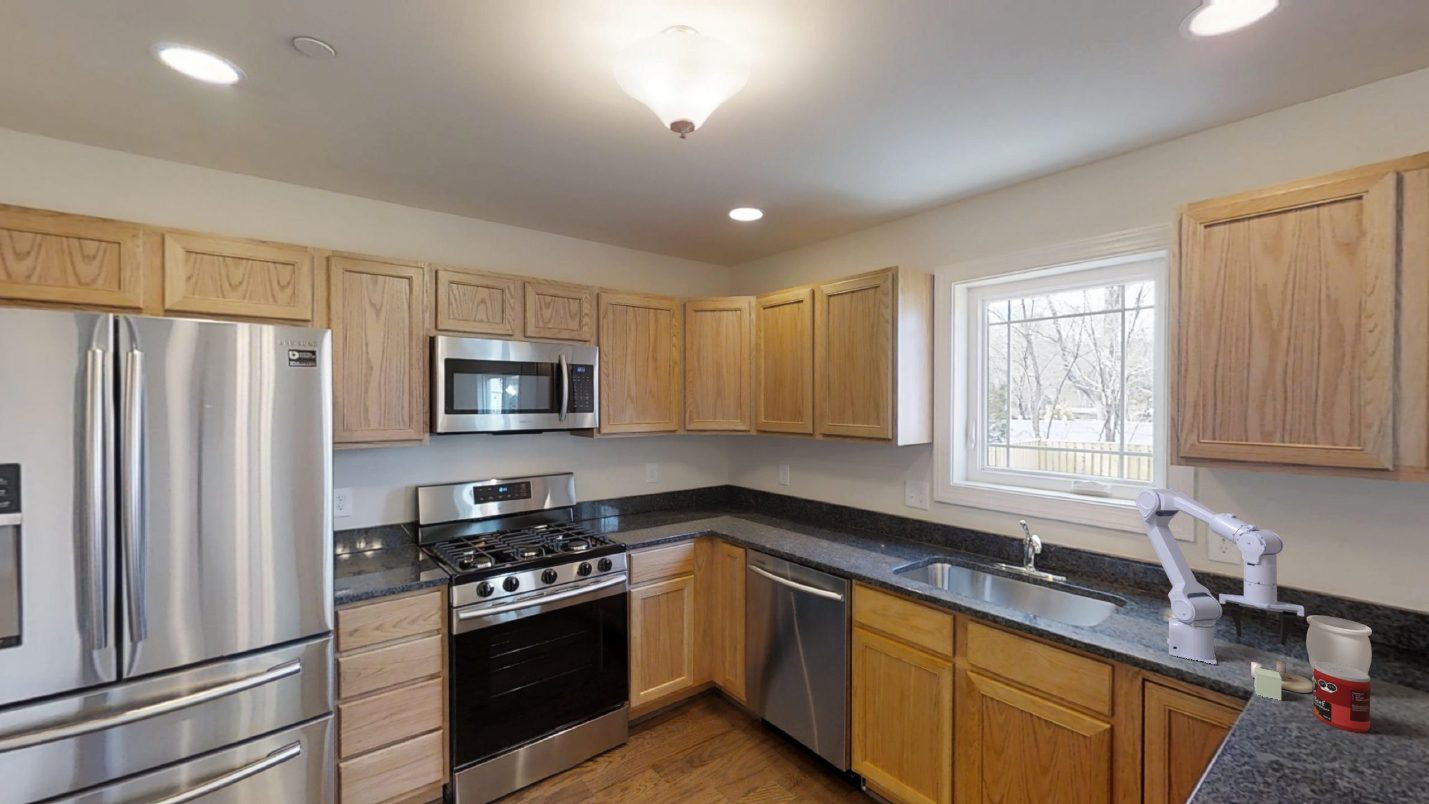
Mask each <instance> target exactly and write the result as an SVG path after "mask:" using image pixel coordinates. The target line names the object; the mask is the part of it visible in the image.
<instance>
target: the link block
mask: <svg viewBox="0 0 1429 804" xmlns="http://www.w3.org/2000/svg"><path fill="white" fill-rule="evenodd" d="M1270 670H1271V669H1265V668H1262V667H1261V668H1256V667H1255V679H1254V681H1253V683H1254V684H1253V685H1254V687H1255V689H1254V692H1255V691H1256V692H1255V694H1257V695H1256V696H1258V695H1261V696H1260V697H1262V696H1263V698H1266V697H1268V698H1267V699H1270V698H1273V699H1272V700H1275V699H1278V700H1277V701H1279V700H1281V701H1282V688H1281V677H1280V674H1279V672H1275V671H1270ZM1254 687H1253V688H1254Z"/></svg>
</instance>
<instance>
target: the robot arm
mask: <svg viewBox="0 0 1429 804" xmlns="http://www.w3.org/2000/svg"><path fill="white" fill-rule="evenodd" d="M1134 503H1135V505H1136V507H1137V509H1138V511H1139V514H1140V521H1141V525H1142V527H1143V530H1144V531H1145V533H1146V536H1147V537H1148V539H1149V541H1150V544H1151V546H1152V547H1153V549H1154V551H1155V554H1156V555H1157V557H1158V559H1159V561H1160V564H1161V565H1162V568H1163V570H1164V572H1165V574H1166V576H1167V578H1168V579H1169V582H1170V584H1171V586H1172V588H1171V589H1170V591H1169V592H1168V593H1167V594H1168V595H1167V597H1168V598H1169V600H1170V608H1171V612H1172V613H1173V616H1174V617H1169V618H1168V637H1167V638H1166V642H1167V644H1166V645H1167V646H1168V655H1170V656H1173V657H1177V656H1178V658H1182V659H1186V658H1187V660H1191V659H1192V660H1191V661H1196V660H1198V661H1197V662H1200V661H1204V662H1203V663H1205V662H1206V664H1209V663H1211V664H1210V665H1214V664H1217V665H1218V663H1217V662H1218V661H1217V657H1216V654H1215V625H1216V624H1217V620H1219V619H1220V618H1221V617H1222V614H1223V609H1222V605H1225V606H1226V609H1227V611H1228V613H1229V615H1230V616H1231V618H1232V621H1233V623H1234V626H1235V631H1236V635H1237V637H1238V638H1243V636H1242V634H1243V633H1242V626H1241V620H1242V617H1241V616H1242V611H1241V607H1245V608H1253V609H1259V610H1265V611H1271V612H1272V611H1273V612H1279V625H1280V626H1279V627H1280V629H1279V643H1280V645H1282V646H1286V642H1287V639H1288V636H1289V633H1290V631H1291V630H1292V628H1293V627H1294V625H1295V624H1296V623H1297V622H1298V620H1299V619H1298V618H1299V616H1300V617H1305V607H1304V606H1303V605H1299V604H1294V603H1289V602H1284V601H1279V600H1278V594H1277V593H1278V592H1277V591H1278V590H1277V589H1278V587H1277V586H1278V585H1277V584H1278V582H1277V580H1278V579H1277V578H1278V577H1277V575H1278V574H1277V573H1278V572H1277V570H1278V569H1277V567H1278V565H1277V563H1278V562H1277V559H1278V558H1277V557H1278V556H1277V555H1278V554H1281V552H1282V551H1283V550H1284V549H1283V548H1284V543H1283V540H1282V538H1281V537H1280V536H1279V534H1277V533H1275V532H1274V531H1273V530H1271V529H1259V528H1258V526H1257V525H1255V524H1250V523H1247V522H1246V521H1244V520H1241V519H1240V518H1237V517H1238V515H1237V514H1235V513H1233V512H1232V513H1231V512H1230V513H1227V512H1222V513H1217V512H1215V511H1214V510H1212V509H1210V508H1209V507H1207V506H1205V505H1203V504H1201V503H1200V502H1198V501H1196V500H1195V499H1192V497H1189V496H1188V495H1187V493H1185V492H1183V491H1180V490H1179V489H1176V488H1173V487H1172V488H1171V487H1170V488H1157V489H1156V488H1153V489H1151V488H1144V489H1141V490H1140V491H1139V492H1138V494H1137V496H1136V499H1135V501H1134ZM1180 512H1181V513H1183V514H1186V515H1187V516H1190V517H1192V518H1194V519H1196V520H1197V521H1201V522H1203V523H1205V524H1207V525H1209V529H1210V530H1211V532H1212V533H1214V534H1215V535H1218V536H1220V537H1222V538H1223V539H1225V540H1227V541H1228V542H1231V543H1232V544H1235V545H1236V546H1237V548H1238V549H1239V551H1240V553H1241V558H1242V560H1243V595H1236V594H1225V593H1219V594H1218V597H1219V598H1218V599H1219V600H1217V598H1216V597H1214V596H1213V595H1212V594H1211V592H1210V590H1209V588H1207V587H1206V586H1204V585H1202V584H1201V583H1199V582H1198V581H1197V579H1196V576H1195V575H1194V573H1193V572H1192V570H1191V568H1190V565H1189V564H1188V562H1187V560H1186V558H1185V556H1184V554H1183V553H1182V550H1181V548H1180V546H1179V544H1178V542H1177V540H1176V539H1175V536H1174V535H1173V532H1172V531H1171V528H1170V527H1169V524H1170V522H1171V520H1172V519H1173V518H1174V517H1175V516H1176V515H1177V514H1178V513H1180ZM1221 604H1222V605H1221Z"/></svg>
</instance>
